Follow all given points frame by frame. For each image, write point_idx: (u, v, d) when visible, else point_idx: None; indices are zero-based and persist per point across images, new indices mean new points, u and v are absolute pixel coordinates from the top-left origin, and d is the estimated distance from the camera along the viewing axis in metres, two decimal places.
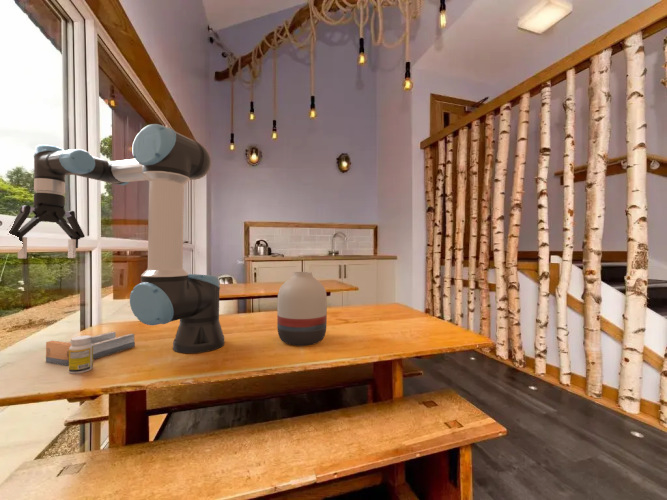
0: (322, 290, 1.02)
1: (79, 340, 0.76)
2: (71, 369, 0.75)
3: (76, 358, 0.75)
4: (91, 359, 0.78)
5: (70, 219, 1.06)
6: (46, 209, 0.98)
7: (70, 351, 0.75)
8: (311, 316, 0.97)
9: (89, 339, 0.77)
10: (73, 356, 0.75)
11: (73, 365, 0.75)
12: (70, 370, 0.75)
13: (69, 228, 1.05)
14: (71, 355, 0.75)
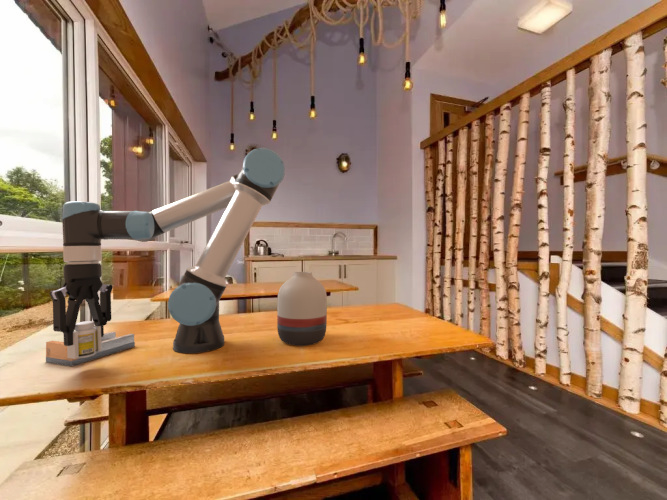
0: (322, 290, 1.02)
1: (82, 325, 0.76)
2: None
3: (79, 342, 0.75)
4: (95, 344, 0.78)
5: (103, 295, 0.82)
6: (78, 282, 0.75)
7: None
8: (311, 316, 0.97)
9: (92, 324, 0.78)
10: None
11: None
12: None
13: (98, 309, 0.80)
14: None
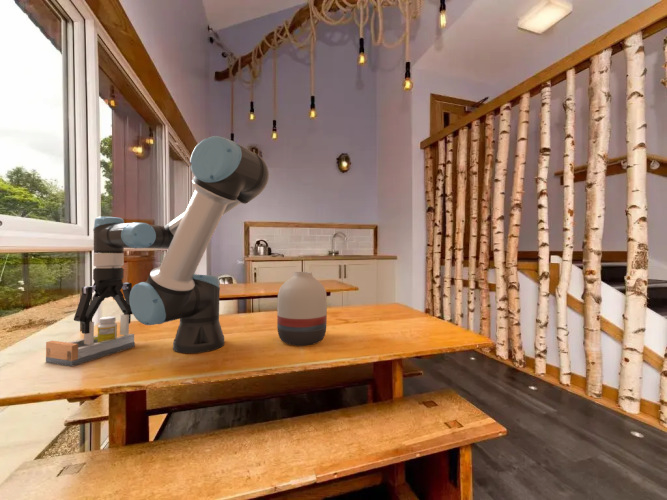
0: (322, 290, 1.02)
1: (106, 319, 0.92)
2: None
3: (103, 334, 0.91)
4: (115, 336, 0.94)
5: (126, 291, 0.99)
6: (106, 284, 0.92)
7: (99, 328, 0.91)
8: (311, 316, 0.97)
9: (114, 319, 0.94)
10: (101, 332, 0.91)
11: (101, 339, 0.91)
12: None
13: (124, 302, 0.97)
14: (100, 331, 0.91)
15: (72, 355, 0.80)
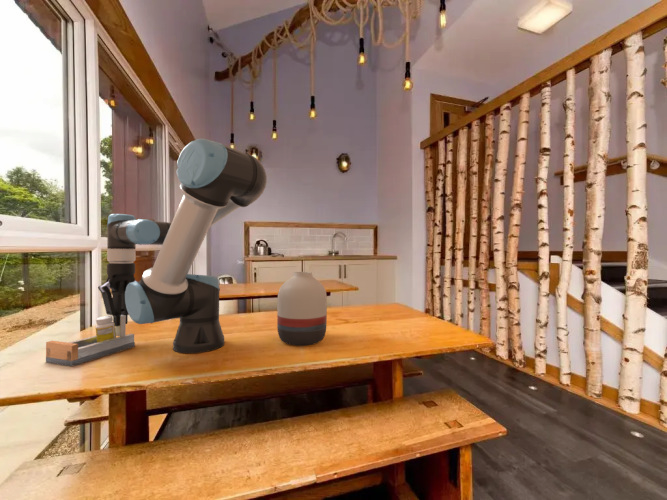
0: (322, 290, 1.02)
1: (103, 320, 0.91)
2: None
3: (102, 334, 0.91)
4: (114, 335, 0.94)
5: None
6: (117, 276, 0.96)
7: (97, 329, 0.91)
8: (311, 316, 0.97)
9: (111, 318, 0.93)
10: (99, 333, 0.91)
11: (100, 340, 0.91)
12: None
13: None
14: (98, 332, 0.91)
15: (72, 355, 0.80)
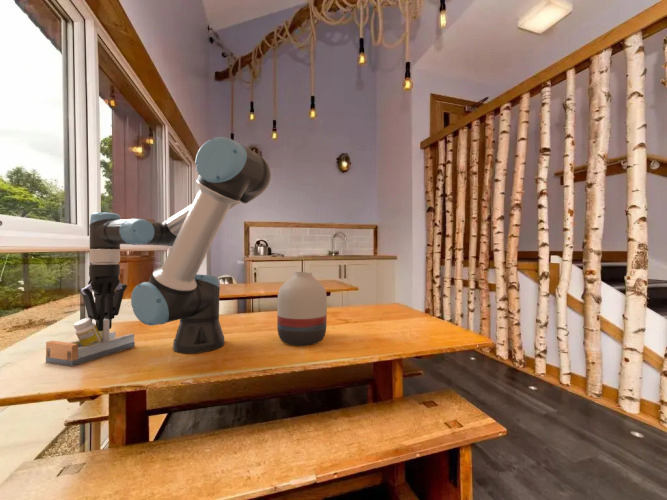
0: (322, 290, 1.02)
1: (80, 325, 0.85)
2: None
3: (83, 338, 0.86)
4: (98, 336, 0.89)
5: (117, 292, 0.96)
6: (100, 278, 0.90)
7: (77, 334, 0.86)
8: (311, 316, 0.97)
9: (89, 321, 0.87)
10: (80, 338, 0.86)
11: (84, 344, 0.87)
12: None
13: (111, 303, 0.94)
14: (79, 337, 0.86)
15: (72, 355, 0.80)
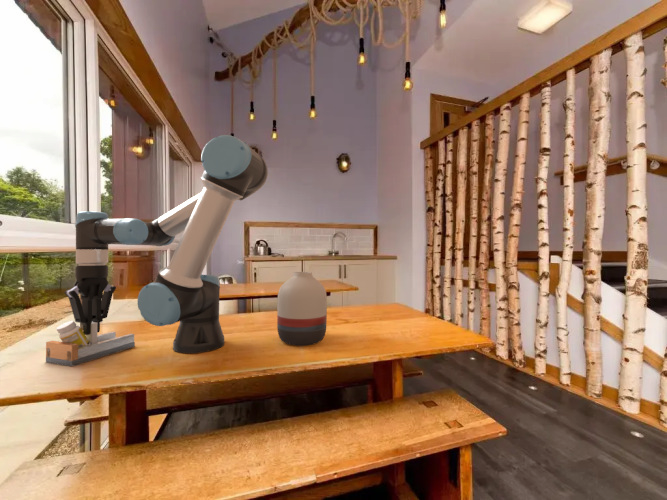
0: (322, 290, 1.02)
1: (62, 328, 0.82)
2: None
3: (67, 342, 0.83)
4: (83, 339, 0.85)
5: (106, 294, 0.93)
6: (87, 280, 0.87)
7: (60, 338, 0.83)
8: (311, 316, 0.97)
9: (72, 325, 0.83)
10: None
11: None
12: None
13: (99, 306, 0.90)
14: (63, 341, 0.83)
15: (72, 355, 0.80)
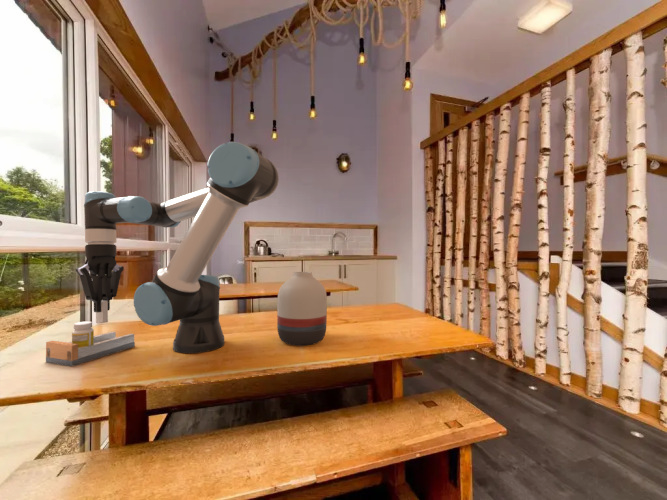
0: (322, 290, 1.02)
1: (79, 325, 0.84)
2: None
3: (75, 340, 0.84)
4: (90, 343, 0.86)
5: (115, 273, 0.95)
6: (97, 258, 0.89)
7: (72, 334, 0.84)
8: (311, 316, 0.97)
9: (88, 325, 0.86)
10: (73, 339, 0.84)
11: None
12: None
13: (108, 285, 0.92)
14: (72, 338, 0.84)
15: (72, 355, 0.80)
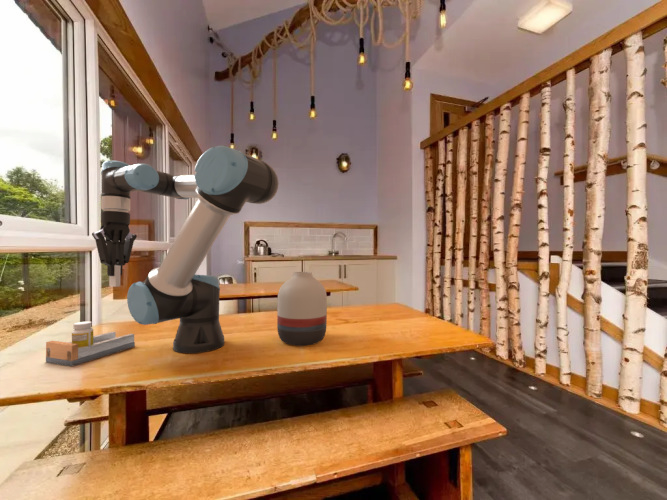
0: (322, 290, 1.02)
1: (78, 325, 0.85)
2: None
3: (75, 340, 0.84)
4: (90, 343, 0.86)
5: (128, 241, 1.00)
6: (111, 224, 0.94)
7: (72, 334, 0.85)
8: (311, 316, 0.97)
9: (88, 325, 0.86)
10: (73, 339, 0.84)
11: None
12: None
13: (122, 251, 0.97)
14: (72, 338, 0.84)
15: (72, 355, 0.80)
